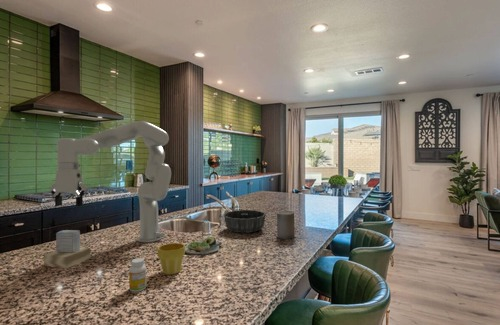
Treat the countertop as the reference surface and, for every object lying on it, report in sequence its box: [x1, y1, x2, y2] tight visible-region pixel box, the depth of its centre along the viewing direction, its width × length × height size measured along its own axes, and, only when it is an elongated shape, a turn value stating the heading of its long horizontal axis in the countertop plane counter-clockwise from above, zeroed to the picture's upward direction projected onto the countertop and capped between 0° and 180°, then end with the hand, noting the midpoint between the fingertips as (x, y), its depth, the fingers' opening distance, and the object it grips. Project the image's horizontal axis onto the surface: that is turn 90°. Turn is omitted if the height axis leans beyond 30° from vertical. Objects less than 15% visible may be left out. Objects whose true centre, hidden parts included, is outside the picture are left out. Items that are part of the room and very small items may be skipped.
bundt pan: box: [223, 209, 267, 234], centre depth 173 cm, size 26×26×10 cm
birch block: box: [43, 246, 92, 269], centre depth 120 cm, size 12×12×5 cm
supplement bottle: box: [128, 257, 147, 293], centre depth 95 cm, size 5×5×10 cm
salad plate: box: [185, 236, 223, 256], centre depth 135 cm, size 19×18×5 cm
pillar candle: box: [276, 210, 296, 240], centre depth 156 cm, size 10×10×15 cm
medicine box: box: [55, 229, 81, 253], centre depth 120 cm, size 8×4×9 cm, turn 86°
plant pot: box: [157, 242, 186, 275], centre depth 109 cm, size 10×10×10 cm
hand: (68, 205), depth 121 cm, fingers open, 9 cm apart
